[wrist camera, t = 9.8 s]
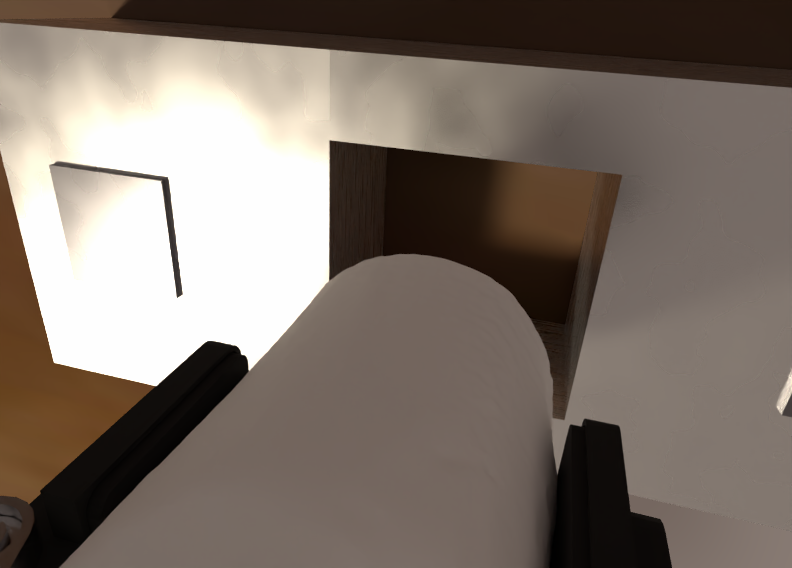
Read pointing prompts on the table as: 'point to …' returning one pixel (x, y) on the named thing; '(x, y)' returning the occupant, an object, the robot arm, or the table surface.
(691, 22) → the table surface
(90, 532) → the robot arm
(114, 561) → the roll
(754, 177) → the white block holder
